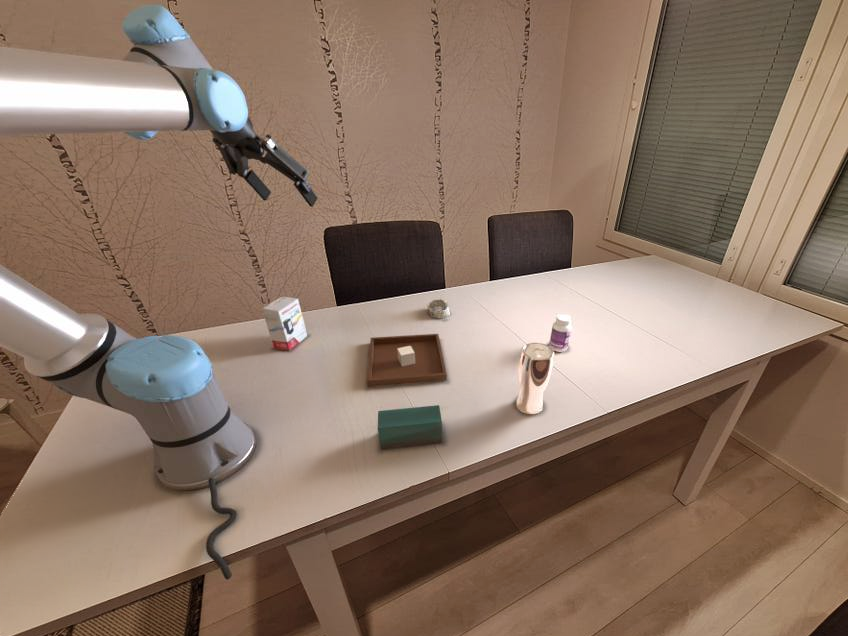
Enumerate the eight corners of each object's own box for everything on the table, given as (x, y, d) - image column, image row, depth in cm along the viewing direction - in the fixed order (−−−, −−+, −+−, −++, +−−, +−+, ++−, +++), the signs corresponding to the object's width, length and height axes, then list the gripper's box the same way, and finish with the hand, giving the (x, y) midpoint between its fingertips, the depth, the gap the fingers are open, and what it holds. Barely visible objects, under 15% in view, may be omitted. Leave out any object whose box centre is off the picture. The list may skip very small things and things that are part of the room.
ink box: (289, 351, 98) (277, 311, 92) (273, 348, 99) (260, 309, 92) (308, 335, 105) (298, 297, 99) (292, 333, 106) (282, 295, 99)
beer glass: (536, 420, 81) (546, 364, 72) (508, 407, 84) (515, 352, 75) (549, 403, 86) (560, 348, 77) (522, 391, 89) (530, 338, 80)
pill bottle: (567, 353, 104) (573, 323, 98) (548, 350, 104) (553, 320, 99) (567, 343, 108) (573, 314, 103) (549, 341, 109) (554, 312, 103)
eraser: (442, 443, 74) (441, 421, 71) (380, 450, 72) (377, 428, 68) (439, 426, 78) (439, 404, 75) (381, 432, 76) (378, 410, 72)
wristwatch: (454, 317, 118) (454, 303, 115) (436, 322, 115) (436, 308, 112) (440, 306, 124) (439, 293, 121) (423, 310, 121) (422, 296, 118)
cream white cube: (415, 363, 95) (414, 352, 93) (402, 366, 94) (401, 355, 92) (411, 356, 98) (410, 345, 96) (398, 359, 96) (397, 348, 94)
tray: (446, 382, 90) (446, 374, 89) (368, 388, 87) (366, 380, 86) (438, 340, 106) (438, 333, 105) (371, 344, 103) (370, 337, 101)
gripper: (284, 102, 68) (340, 192, 88) (182, 97, 74) (256, 182, 94) (265, 131, 66) (327, 217, 85) (161, 123, 72) (241, 205, 91)
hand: (290, 199), depth 90 cm, fingers open, 13 cm apart
